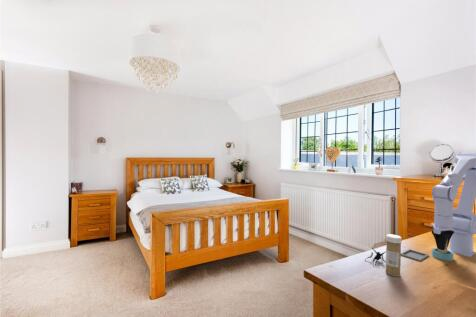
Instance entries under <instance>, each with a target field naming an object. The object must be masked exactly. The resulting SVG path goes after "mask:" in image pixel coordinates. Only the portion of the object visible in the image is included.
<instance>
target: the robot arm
mask: <svg viewBox="0 0 476 317" xmlns="http://www.w3.org/2000/svg"><path fill="white" fill-rule="evenodd" d="M454 159H455V160H454V161H455V165H454V168H453V169H452V171H451V172H448V173H446V175H445V176H444V177H443V179H442V180H441V182H440V183H439V184H435V185H434V186H433V188H432V191H431V196H432V202H433V203H434V214H433V215H434V217H433V220H434V221H433V222H432V223H430V226H432V227H433V229H432V230H431V235H433V238H434V241H435V245H436V248H437V249H440V250H444V249H445V246H446V242H447V250H449V251H451V252H453V253H454V254H457V255H461V256H464V257H469V258H471V257H472V256H474V255H475V254H476V251H475V250H474V241H475V240H474V236H473V235H475V234H476V213H475V212H473V211H474V205H475V202H476V152H458V153H457V154H456V155H455V158H454ZM464 175H465V178H463V176H464ZM462 183H463V184H462ZM461 185H462V188H461V192H460V195H459V200H458V203H457V207H456V208H454V201H455V200H456V199H457V196H458V192H459V188H460V186H461ZM447 239H448V240H447Z"/></svg>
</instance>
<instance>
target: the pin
mask: <svg viewBox="0 0 476 317" xmlns="http://www.w3.org/2000/svg"><path fill="white" fill-rule="evenodd" d="M447 240H448V239H447ZM447 250H448V247H447V242H446V246H445V249H444V250H440V249H437V252H440V253H444V254H447Z"/></svg>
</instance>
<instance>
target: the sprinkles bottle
mask: <svg viewBox="0 0 476 317" xmlns="http://www.w3.org/2000/svg"><path fill="white" fill-rule="evenodd" d="M402 238H403V237H401V236H400V235H397V234H392V233H388V234H386V236H385V240H386V248H385V249H386V250H385V253H386V254H385V261H386V262H385V273H386V274H387V275H389V276H391V277H401V266H402V264H401V262H402V259H401V257H402V256H401V253H402V251H401V250H402V248H401V247H402Z"/></svg>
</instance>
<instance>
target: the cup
mask: <svg viewBox="0 0 476 317" xmlns="http://www.w3.org/2000/svg"><path fill="white" fill-rule="evenodd" d="M454 254H455V253H453V252H451V251H449V250H448V249H447V254H444V253H440V252H437V247H434V248H432V249H431V256H432V258H435V259H437V260H441V261H446V262H452V261H454Z"/></svg>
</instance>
